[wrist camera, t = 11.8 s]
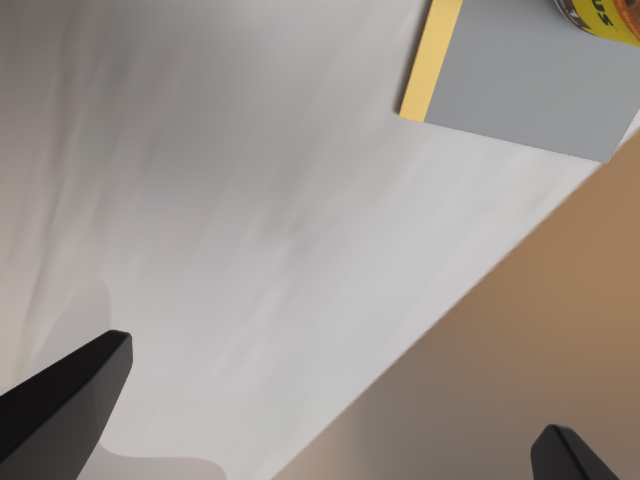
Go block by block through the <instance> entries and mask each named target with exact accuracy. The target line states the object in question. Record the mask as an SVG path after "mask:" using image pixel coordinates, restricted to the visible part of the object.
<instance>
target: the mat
mask: <svg viewBox="0 0 640 480" xmlns="http://www.w3.org/2000/svg"><path fill="white" fill-rule="evenodd" d="M639 109H640V47H636V46H633V45H629V44H625V43H622V42H618V41H613V40H609V39H606V38H601V37H598V36H594V35H591V34H589V33H587V32H585V31H583V30H581V29H579V28H577V27H576V26H574V25H573V24H572V23H571V22H570V21H568V20H567V19H566V17H565V16H564V15H563V14H562V12H561V11H560V9H559V8H558V6H557V4H556V2H555V0H432V2H431V5H430V9H429V12H428V15H427V19H426V22H425V26H424V29H423V32H422V36H421V39H420V43H419V46H418V49H417V53H416V56H415V60H414V63H413V67H412V70H411V73H410V77H409V80H408V84H407V87H406V90H405V94H404V97H403V101H402V104H401V107H400V111H399V114H398V115H399V117H401V118H406V119H410V120H414V121H419V122H426V123H430V124H435V125H439V126H444V127H448V128H452V129H457V130H461V131H466V132H470V133H474V134H479V135H483V136H487V137H492V138H496V139H501V140H505V141H509V142H514V143H518V144H523V145H527V146H531V147H536V148H540V149H545V150H549V151H553V152H558V153H562V154H567V155H571V156H575V157H580V158H584V159H589V160H593V161H597V162H602V163H606V164H608V162H609V160H610V158H611V157H612V155H613V153H614V152H615V150H616V148H617V146H618V145H619V143H620V141H621V140H622V138H623V136H624V134H625V133H626V131H627V129H628V128H629V126H630V124H631V122H632V121H633V119H634V117H635V115H636V114H637V112H638V110H639Z"/></svg>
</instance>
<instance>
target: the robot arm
mask: <svg viewBox="0 0 640 480" xmlns="http://www.w3.org/2000/svg"><path fill="white" fill-rule="evenodd" d="M132 363H133V350H132V336H131V334H130V333H128V332H123V331H119V330H109V331H107V332H105V333H104V334H102V335H100V336H99V337H97V338H95V339H94V340H92V341H90V342H89V343H87V344H85V345H84V346H82V347H80V348H79V349H77V350H75V351H74V352H72V353H71V354H69V355H67V356H66V357H64V358H62V359H61V360H59V361H57V362H56V363H54V364H52V365H51V366H49V367H47V368H46V369H44V370H42V371H41V372H39V373H38V374H36V375H34V376H32V377H31V378H29V379H28V380H26V381H24V382H23V383H21V384H19V385H18V386H16V387H14V388H13V389H11V390H9V391H8V392H6V393H4V394H3V395H1V396H0V480H76V479H77V477H78V475H79V474H80V472H81V470H82V469H83V467H84V465H85V464H86V462H87V460H88V458H89V457H90V455H91V453H92V452H93V450H94V448H95V446H96V444H97V442H98V441H99V439H100V437H101V434H102V432H103V430H104V428H105V426H106V424H107V422H108V419H109V417H110V415H111V413H112V410H113V408H114V406H115V404H116V402H117V399H118V397H119V395H120V393H121V390H122V388H123V386H124V384H125V382H126V379H127V377H128V375H129V373H130V370H131V367H132ZM531 464H532V471H533V478H534V480H620V479H619V478H618V477H617V476H616V475H615V474H614V473H613V472H612V471H611V470H610V469H609V468H608V466H607V465H606V464H605V463H604V462H603V461H602V460H601V459H600V458H599V457H598V456H597V455H596V454H595V453H594V452H593V450H592V449H590V447H589V446H588V445H587V444H586V443H585V442H584V441H583V440H582V439H581V438H580V437H579V436H578V435H577V433H576V432H575V431H574V430H573V429H571V428H569V427H567V426H562V425H558V424H549V425H547V426H546V428H545V429H544V430H543V431H542V433H541V434H540V436H539V437H538V438H537V439H536V441H535V442H534V443H533V445H532V448H531Z"/></svg>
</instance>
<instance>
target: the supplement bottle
mask: <svg viewBox="0 0 640 480" xmlns="http://www.w3.org/2000/svg"><path fill="white" fill-rule="evenodd" d="M555 2H556V4H557V6H558V8H559V9H560V11H561V12H562V14H563V15H564V16H565V17H566V19H567V20H568V21H570V22H571V23H572V24H573V25H574V26H576V27H577V28H579V29H581V30H583V31H585V32H587V33H589V34H591V35H594V36H598V37H601V38H606V39H609V40H613V41H618V42H622V43H625V44H629V45H633V46H636V47H640V0H555Z"/></svg>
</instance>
